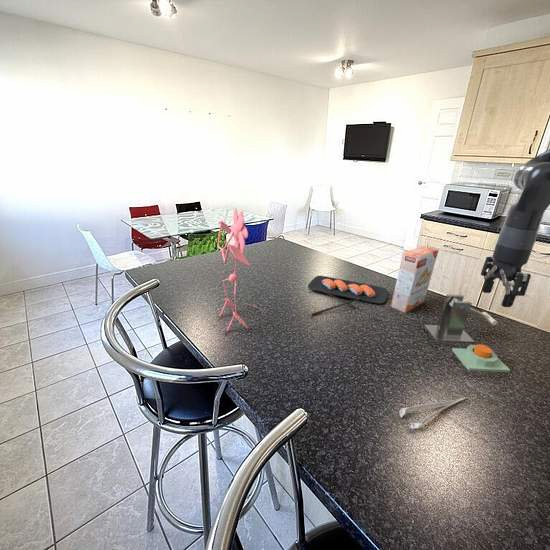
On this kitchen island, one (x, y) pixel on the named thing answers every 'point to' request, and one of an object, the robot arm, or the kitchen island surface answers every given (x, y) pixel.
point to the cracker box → (414, 278)
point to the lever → (478, 313)
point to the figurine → (239, 234)
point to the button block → (479, 360)
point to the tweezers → (427, 406)
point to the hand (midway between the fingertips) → (495, 299)
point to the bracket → (452, 321)
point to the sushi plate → (348, 291)
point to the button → (482, 351)
